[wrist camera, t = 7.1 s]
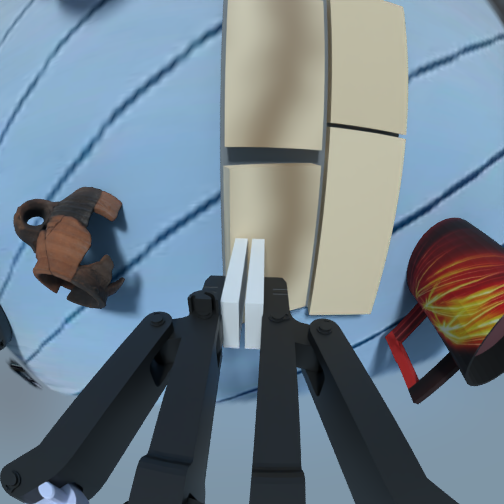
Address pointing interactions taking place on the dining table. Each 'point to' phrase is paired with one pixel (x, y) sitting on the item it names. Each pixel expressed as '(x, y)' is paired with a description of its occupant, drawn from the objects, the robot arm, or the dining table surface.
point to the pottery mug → (70, 244)
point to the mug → (455, 305)
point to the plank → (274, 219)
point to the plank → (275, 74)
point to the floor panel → (348, 152)
